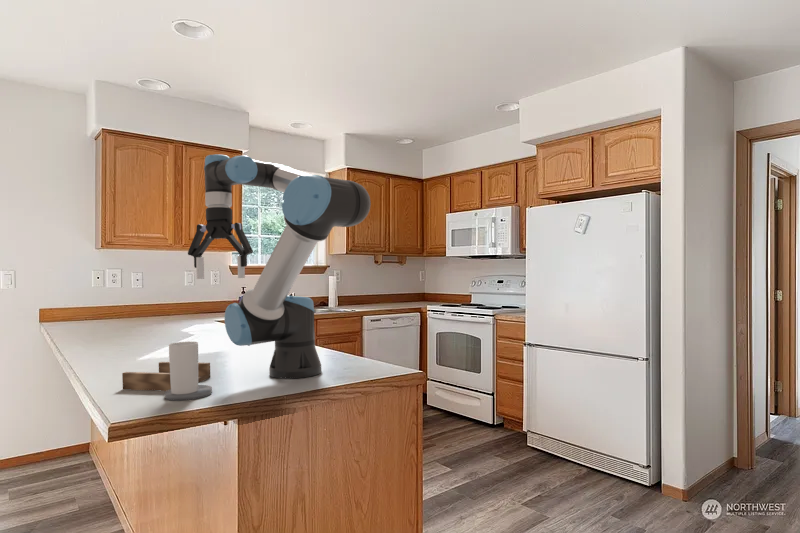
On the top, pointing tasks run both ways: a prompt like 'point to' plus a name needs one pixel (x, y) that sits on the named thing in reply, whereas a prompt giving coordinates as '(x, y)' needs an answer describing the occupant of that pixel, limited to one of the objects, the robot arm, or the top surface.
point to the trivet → (202, 392)
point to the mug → (183, 367)
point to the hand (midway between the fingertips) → (220, 278)
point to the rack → (158, 378)
